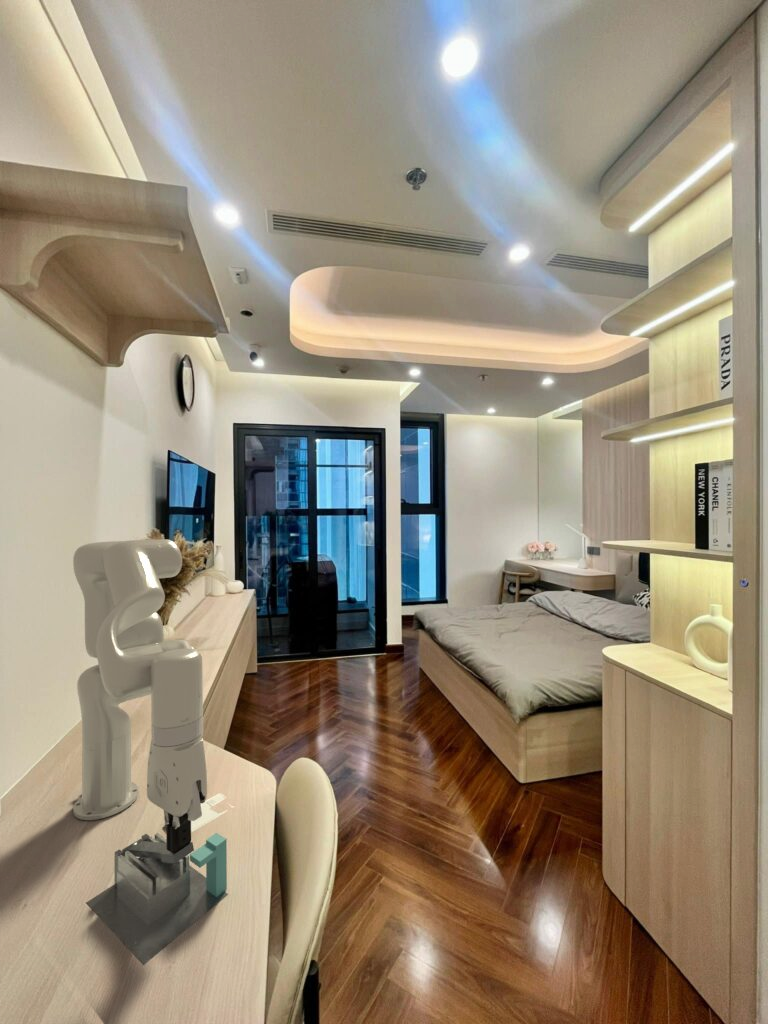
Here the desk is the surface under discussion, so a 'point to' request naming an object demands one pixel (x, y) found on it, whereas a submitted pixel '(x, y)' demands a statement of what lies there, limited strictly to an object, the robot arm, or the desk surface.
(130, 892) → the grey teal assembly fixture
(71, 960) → the desk surface
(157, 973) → the desk surface
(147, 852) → the dark grey flat bar
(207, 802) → the external hard drive
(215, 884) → the clip
